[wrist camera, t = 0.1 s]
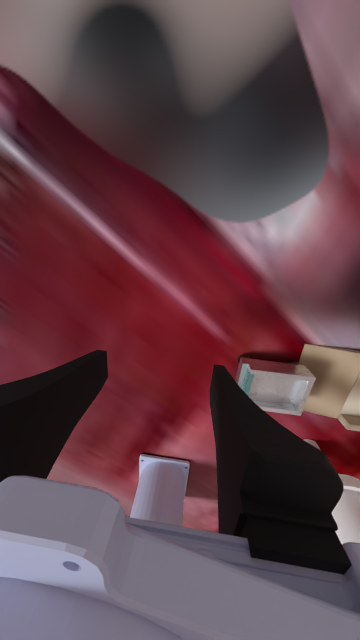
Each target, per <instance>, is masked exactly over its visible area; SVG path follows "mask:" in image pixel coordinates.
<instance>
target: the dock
mask: <svg viewBox="0 0 360 640" xmlns="http://www.w3.org/2000/svg"><path fill="white" fill-rule="evenodd" d="M298 363H299V364H300V365H304V366H305V367H306V368H307V369H308V370H309V371H310V372H311V373H312V374H313V375H314V376H315V377H316V379H315V382H314V384H313V386H312V389H311V391H310V394H309V396H308V399H307V401H306V404H305V406H304V409H303V410H304V411H308V412H312V413H316V414H320V415H324V416H329V417H333V418H338V419H339V421H340V422H341V423H342V424H343V425H344V427H345V428H346V429H347V430H354V431H360V351H357V350H352V349H345V348H337V347H328V346H319V345H311V344H305V346H304V348H303V351H302V354H301V357H300V360H299V362H298Z"/></svg>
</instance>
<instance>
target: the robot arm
mask: <svg viewBox="0 0 360 640" xmlns="http://www.w3.org/2000/svg"><path fill="white" fill-rule="evenodd" d="M107 377H108V369H107V351H102V350H96V351H93V352H91V353H89V354H86V355H84V356H82V357H80V358H77V359H75V360H73V361H71V362H69V363H66V364H64V365H61V366H59V367H56V368H54V369H52V370H49V371H46V372H43V373H41V374H38V375H35V376H32V377H28V378H25V379H21V380H18V381H14V382H10V383H7V384H2V385H0V640H360V543H355V542H347V543H343V544H341V542H340V540H339V538H338V536H337V534H336V532H335V531H337V530H338V526H337V523H336V521H335V519H334V518H333V516H332V514H331V513H332V511H333V510H334V508H335V506H336V505H337V503H338V502H339V500H340V498H341V496H342V493H343V490H344V488H343V482H342V480H341V478H340V477H339V475H338V473H337V472H336V470H335V469H334V467H333V465H332V464H331V462H330V461H329V459H328V458H327V456H326V455H325V454H324V452H323V451H321V450H319V449H318V448H316V447H314V446H313V445H311V444H309V443H308V442H306V441H304V440H303V439H301V438H299V437H298V436H296V435H295V434H293V433H292V432H291V431H289V430H288V429H286V428H285V427H283V426H282V425H281V424H279V423H278V422H277V421H275V420H274V419H273V418H272V417H270V416H269V415H268V414H267V413H266V412H264V411H263V410H262V409H261V408H260V407H259V406H258V405H257V404H256V403H254V402H253V401H252V400H251V399H250V398H249V396H248V395H247V394H246V393H245V392H244V391H243V390H242V389H241V388H240V386H239V385H238V384H237V383H236V381H235V380H234V379H233V377H232V376H231V375H230V373H229V372H228V371H227V369H226V368H225V367H224V366H222V365H214V369H213V375H212V381H211V386H210V408H211V415H212V422H213V429H214V436H215V444H216V460H217V483H218V518H219V533H215V532H209V531H204V530H198V529H192V528H187V527H182V523H183V506H184V499H185V493H186V487H187V480H188V474H189V467H190V463H189V462H188V461H184V460H178V459H171V458H165V457H159V456H152V455H146V454H141V455H140V461H139V484H138V488H137V492H136V496H135V499H134V503H133V507H132V511H131V515H130V517H125V514H124V512H123V509H122V507H121V505H120V502H119V500H117V499H116V498H115V497H113V496H112V495H111V494H110V493H108V492H106V491H103V490H100V489H97V488H94V487H89V486H83V485H78V484H72V483H66V482H60V481H54V480H48V479H46V478H47V476H48V475H49V473H50V471H51V469H52V467H53V465H54V463H55V461H56V459H57V457H58V456H59V454H60V452H61V450H62V448H63V447H64V445H65V443H66V441H67V439H68V438H69V436H70V434H71V433H72V431H73V429H74V427H75V426H76V424H77V423H78V421H79V420H80V418H81V417H82V416H83V414H84V413H85V412H86V410H87V409H88V407H89V406H90V405H91V403H92V402H93V400H94V399H95V398H96V396H97V395H98V393H99V392H100V390H101V389H102V387H103V385H104V383H105V381H106V379H107Z"/></svg>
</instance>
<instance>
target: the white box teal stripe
mask: <svg viewBox="0 0 360 640" xmlns="http://www.w3.org/2000/svg"><path fill="white" fill-rule="evenodd" d="M238 363H239V366H238V371H237V375H236V379H235V381H236V383H237V384H238V385H239V386H240V388H241V389H242V390H243V391H244V392H245V393H246V394H247V395H248V396H249V398H250V399H251V400H252V401H253V402H254V403H256V404H257V405H258V406H259V407H260V408H261V409H262V410H263V411H270V412H277V413H285V414H292V415H299V416H301V414H302V411H303V409H304V406H305V404H306V401H307V399H308V396H309V394H310V391H311V389H312V386H313V384H314V382H315V379H316V377H315V376H314V375H313V374H312V373H311V372H310V371H309V370H308V369H307V368H306V367H305V366H304V365H300V364H299V363H298V362H296V361H289V362H288V363H281V362H273V361H265V360H257V359H250V358H249V357H248V356H247V355H241V356H239V358H238Z"/></svg>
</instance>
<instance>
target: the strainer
mask: <svg viewBox="0 0 360 640" xmlns="http://www.w3.org/2000/svg"><path fill="white" fill-rule="evenodd" d="M303 440H304V441H306V442H308V443H309V444H311V445H313V446H314V447H316V448H318V449H319V450H320V448H319V446H318V445H317V443H316V442H315V441H313V440H310V439H303ZM338 475H339V477H340V478H341V480H342V482H343V488H344V490H343V493H342V496H341V498H340V500H339V502H338V503H337V505H336V506H335V508H334V510H333V511H332V513H331V514H332V516H333V518H334V519H335V521H336V523H337V526H338V530H337V531H335V532H336V534H337V536H338V538H339V540H340V542H341V544H343V543H347V542H355V543H360V480H359V479H357V478H355V477H352V476H348V475H343V474H338Z"/></svg>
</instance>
